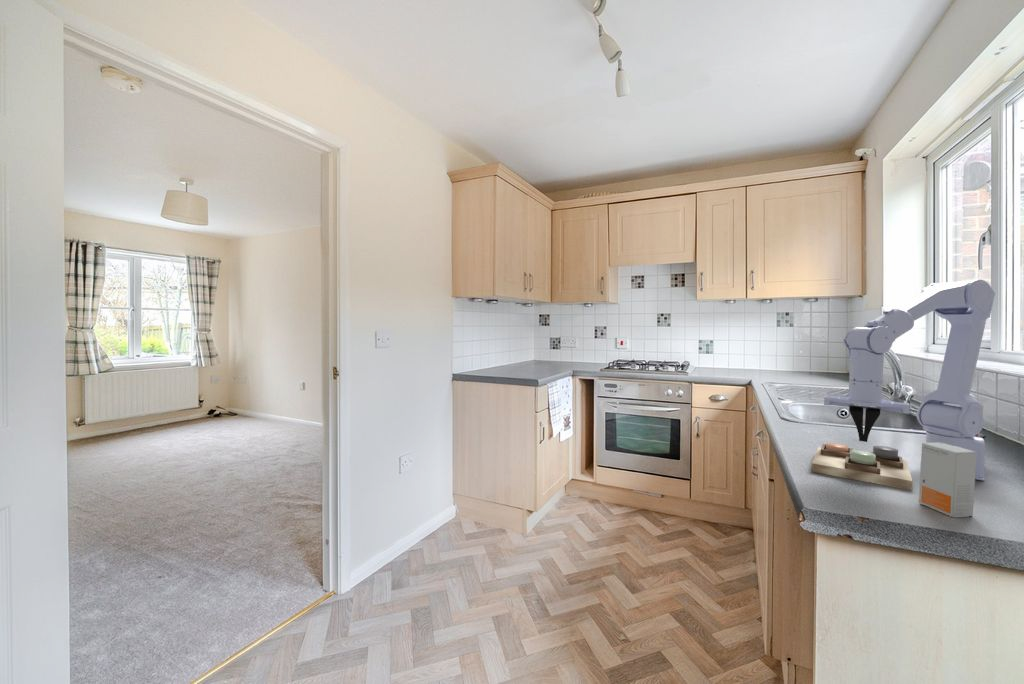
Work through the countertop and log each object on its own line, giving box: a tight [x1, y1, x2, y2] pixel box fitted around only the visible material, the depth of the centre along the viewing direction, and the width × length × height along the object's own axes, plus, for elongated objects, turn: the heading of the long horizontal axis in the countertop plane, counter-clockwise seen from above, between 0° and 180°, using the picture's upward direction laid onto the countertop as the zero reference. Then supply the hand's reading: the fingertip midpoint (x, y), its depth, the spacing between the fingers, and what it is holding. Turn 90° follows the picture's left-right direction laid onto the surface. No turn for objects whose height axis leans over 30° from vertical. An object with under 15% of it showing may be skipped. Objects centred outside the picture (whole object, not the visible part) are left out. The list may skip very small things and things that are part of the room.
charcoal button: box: [872, 445, 899, 459], centre depth 98 cm, size 4×4×2 cm
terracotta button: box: [825, 442, 849, 453], centre depth 105 cm, size 4×4×2 cm
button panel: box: [811, 443, 913, 491], centre depth 99 cm, size 17×16×3 cm
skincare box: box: [918, 442, 977, 518], centre depth 78 cm, size 6×4×12 cm
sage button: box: [850, 449, 876, 465], centre depth 95 cm, size 4×4×2 cm
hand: (863, 440), depth 95 cm, fingers closed
